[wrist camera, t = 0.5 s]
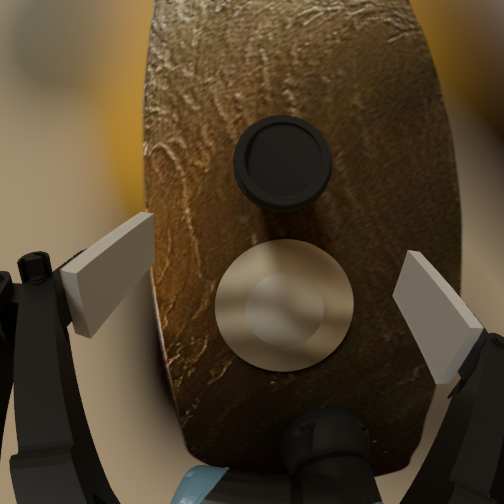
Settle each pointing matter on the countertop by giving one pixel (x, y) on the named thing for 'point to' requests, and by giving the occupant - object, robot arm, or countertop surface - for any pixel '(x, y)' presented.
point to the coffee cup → (282, 163)
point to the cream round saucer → (284, 305)
